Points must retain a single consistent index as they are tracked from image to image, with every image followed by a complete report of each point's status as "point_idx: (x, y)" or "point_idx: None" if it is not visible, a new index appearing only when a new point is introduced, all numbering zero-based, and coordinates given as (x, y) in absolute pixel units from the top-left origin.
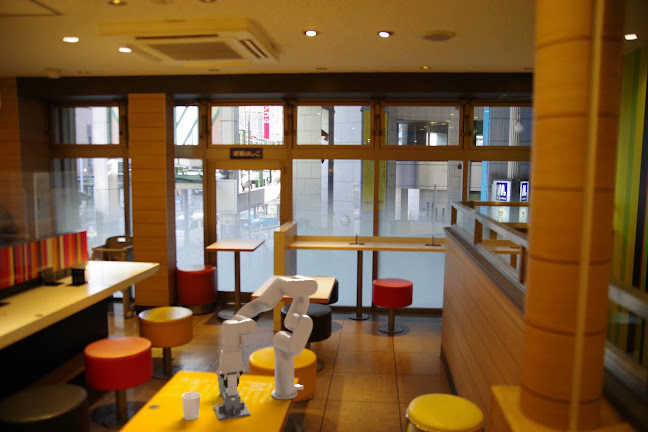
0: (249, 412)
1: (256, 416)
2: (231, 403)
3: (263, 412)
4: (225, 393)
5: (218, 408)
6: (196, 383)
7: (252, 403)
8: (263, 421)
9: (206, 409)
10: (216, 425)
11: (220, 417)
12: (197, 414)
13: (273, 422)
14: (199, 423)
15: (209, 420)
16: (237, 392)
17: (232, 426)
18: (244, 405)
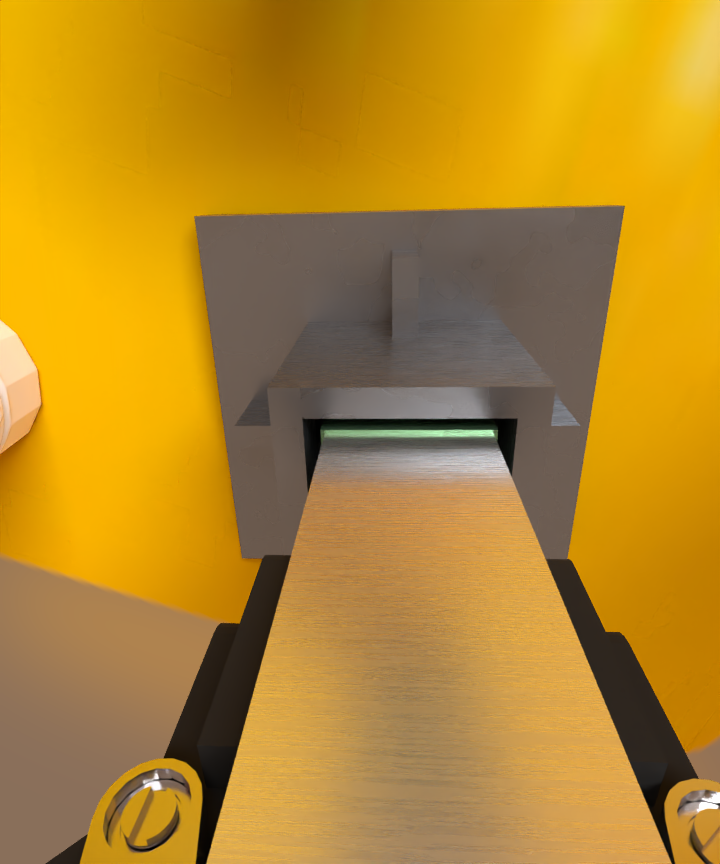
0: (567, 543)
1: (609, 581)
2: None
3: (714, 532)
4: (314, 416)
5: (250, 332)
6: None
7: (715, 268)
8: None
9: (111, 240)
10: (220, 608)
11: (257, 542)
12: (5, 448)
13: (696, 711)
14: (66, 530)
15: (157, 508)
16: (529, 466)
17: None
18: (580, 361)
